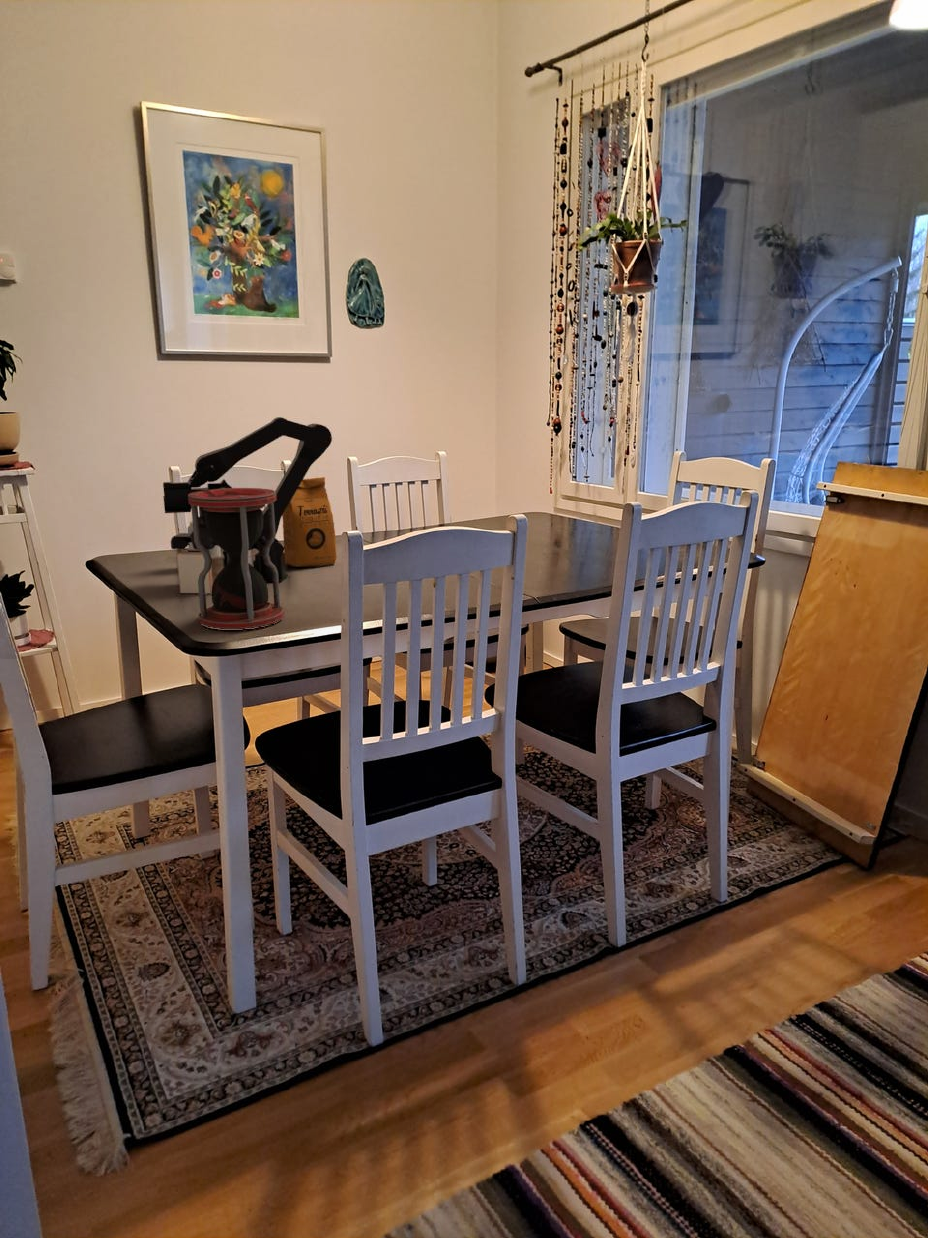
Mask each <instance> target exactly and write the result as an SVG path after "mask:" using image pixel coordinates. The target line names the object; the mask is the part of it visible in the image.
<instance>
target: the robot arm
mask: <svg viewBox="0 0 928 1238" xmlns="http://www.w3.org/2000/svg"><path fill="white" fill-rule="evenodd" d="M281 437H288V438H291V439H295V440H298V441H299V442H298V445H297V449H296V452H295V456H294V458H293V460H292V461H291V463H290V464H289V466H288V469H287V470H286V472H285V473H284V475H283V477H282V479H281V480H280V482H279V484H278V486H277V487H276V489H275V490H274V491H275V492H276V498H277V500H276V501H275V502H273V503H274V518H275V534H276V535H275V539H274V542H273V543H272V544H271V546H270V549H269V557H270V561H271V563H272V564H273V565H274V566H275V567H276V569H277V571H278V581H279V583H281V582H283V581H285V580H286V579H287V578H288V577H289V574H287V572H286V571H287V569H286V563H285V552H284V545H283V544H282V543H281V541H280V540H279V539H277V538H276V537H277V533H278V530H279V526H280V522H281V520H282V515H283V513H284V511H285V510H286V508H287V506H288V504H289V503H290V501H291V499H292V497H293V496H294V494H295V492H296V490H297V489H298V487H299V485H300V484H301V482H302V480H303V479H305V476H306V475H307V473H308V471H309V470H310V468H311V467H312V465H313V464H314V463H315V462H316V461H317V460H318V459H319V458H320V457H321V456H322V455H323V454H324V453H325V451H327V450H328V448H329V447H330V446H331V443H332V442H333V436H332V432H331V430H330V429H329V428H328V427H327V426H325V425H322V424H320V423H310V424H308V425H305V424H302V423H299V422H295V421H291V420H289V419H287V418H284V417H282V416H279V417H275V418H273V419H272V420H271V421H270V422H268V423H267V424H264V425H263V426H261V427H260V428H258V429H255V430H254V431H252V432H251V433H249V434H247V435H245V436H244V437H242V438H240V439H239V440H237V441H235V442H233V443H231V444H230V445H227V446H224V447H222V448H219V449H218V448H217V449H215V450H212V451H209V452H206V453H203V454H201V455H199V457H197V459H195V464H194V469H195V470H194V471H193V473H192V474H191V476H189V479H188V481H187V482H183V481H182V482H171V481H164V482H163V483H162V484H163V485H162V487H163V496H162V497H163V506H164V507H163V508H164V514H178V513H180V514H182V513H192V510H191V505H190V504H189V501H188V494H190V493H192V492H197V491H203V490H211V489H220V488H233V487H232V486H231V485H230V484H228V482H227V481H226V479H224V478H223V479H222V480H221V481H220V482H216V481H218V480H220V478H222V477H223V476H225V474H227V473H228V472H229V471H230V470H231V469H232V468H233V467H234V466H235V465H236V464H237V463H239V462H240V461H241V460H243V459H244V458H246V457H248V456H250V455H252V454H253V453H255V452H257V451H258V450H260V449H263V448H264V447H265V446H268V445H269V444H270V443H272V442H274V441H276V440H278V439H279V438H281ZM206 483H207V484H206ZM205 484H206V486H205V487H203V486H204V485H205ZM205 512H206V511H205V510H203V509H202V507H199V506H198V515H199V516H198V517H199V528H200V539H201V542H202V544H203V546H204V548H206V549H207V550H208V551H209V549H213V548H214V547H215V546H218V545H217V544H216V543H215V542H214V541H213V540H212V538H211V537H210V535H209V533H208V532H207V528H206V523H205ZM262 513H263V530H262V532H261V535H260V537H259V538H258V539H257V541H256V542H255V543H254V545H253V546H252V547H251V548H250V549H249V551H252V550H253V549H254V550H257V551H258V552H256V553H255V554H254V560H252V564H253V565H252V566H253V567H254V568H255V569H256V570H257V571H258V572H259V573H260V574H261V575H262V577H263V578H264V580H265V582H266V583H273V578H272V572H271V570H270V568H269V567H268V566H267V565H266V564H265V563H264V560H263V558H262V551H263V546H264V545H265V544H266V543H267V541H268V538H269V535H270V532H269V516H268V504H266V505H265V507H264V508H263V509H262ZM187 547H188V550H187V552H201V551H200V550H199V549H198V548H197V547H196V545H195V542H194V533H193V532H192V533H188V532H183V533H182V532H180V533H178V534H176V535H174V536H172V538H171V539H170V548H171V549H172V550H185V549H186V548H187ZM201 553H202V552H201ZM222 553H223V555H222V556H223V557H224V558H225V566H226V564H227V553H226V552H225V551H224V550H222Z"/></svg>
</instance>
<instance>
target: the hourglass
mask: <svg viewBox="0 0 928 1238" xmlns="http://www.w3.org/2000/svg"><path fill="white" fill-rule="evenodd" d="M275 491H276V490H273V489H269V488H260V487H259V488H257V487H232V488H220V489H211V490H203V491H197V492H192V493H190V494H188V501H189V504H190V505H191V521H193V533H194V542H195V545H196V547H197V548H198V549H199V550H200V551H201V552H202V554H203V557H204V560H205V562H204V569H203V570H202V572H201V573H200V575H199V579H198V588H199V594H198V597H199V598H198V599H199V607H200V612H199V614H198V621H200V622H199V624H200V623H201V624H203V625H205V626H208V627H213V628H220V629H245V628H254V627H261V626H265V625H269V624H273V623H275V622H277V621H279V620H281V619H282V620H283V619H284V617H285V615H284V614H285V612H284V609H283V607H282V606H281V602H280V601H281V600H280V584H279V583H280V582H279V581H278V571H277V569H276V567H275V566H274V565H273V564H272V563H271V561H270V557H269V549H270V546H271V544H272V543H273V542H274V539H275V538H276V536H277V534H275V518H274V503H273V502H275V501H276V500H277V498H276V492H275ZM267 504H268V516H269V532H270V535H269V538H268V541H267V543H266V544H265V545H264V546H263V551H262V558H263V560H264V563H265V564H266V565H267V566H268V567H269V568H270V570H271V572H272V578H273V582H272V589H273V603H271V602H269V597H270V596H269V589H268V585H267V584H268V583H267V582H265V580H264V578H263V577H262V575H261V574H260V573H259V572H258V571H257V570H256V569H255V568H254V567H253V565H252V564H251V563H250V562H249V551H250V550H249V549H250V548H251V547H252V546H253V545H254V543H255V542H256V541H257V539H258V538H259V537H260V535H261V532H262V530H263V513H262V511H263V509H264V508H265V507H266V505H267ZM199 507H202V509H203V510H205V511H206V512H205V523H206V528H207V532H208V533H209V535H210V537H211V538H212V540H213V541H214V542H215V543H216V544H217V545H218V546H219V547H220V549H221V550H222V551H225V552H226V553H227V564H226V566H225V567H224V568H223V569H222V570H221V571H220V573H219V574H218V575H217V577H216V578H215V580H214V582H213V585H212V593H211V594H210V595H211V602H212V606H209V607H208V608H207V598H206V594H205V585H204V580H205V577H206V574H207V573H208V572H209V570H210V569H211V564H212V558H211V555H210V553H209V551H208V550H207V549H206V548H204V546H203V544H202V542H201V539H200V528H199V517H200V516H199ZM275 535H276V536H275Z"/></svg>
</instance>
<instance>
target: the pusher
mask: <svg viewBox="0 0 928 1238" xmlns="http://www.w3.org/2000/svg"><path fill="white" fill-rule="evenodd" d="M211 558H212V564H211V567H212V579H213V582H214V580H215V578H216V577H217V575H218V574H219V573H220V571H221V570H222V569H223V568H224V567H225V558H224V556H221V557H220V556H211Z"/></svg>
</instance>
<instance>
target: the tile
mask: <svg viewBox="0 0 928 1238" xmlns="http://www.w3.org/2000/svg"><path fill="white" fill-rule="evenodd" d="M176 562H177V563H176V565H177V572H178V582H179V593H199V588H198V579H199V575H200V573H201V572H202V570H203V569H204V562H205V560H204V557H203V554H202V553H201V552H188V551H186V552H184V551H180V552H179V551H178V552H177V553H176ZM204 585H205V593H212V585H213V579H212V567H211V569H210V570H209V572H208V573H207V574H206V577H205V580H204Z"/></svg>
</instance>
